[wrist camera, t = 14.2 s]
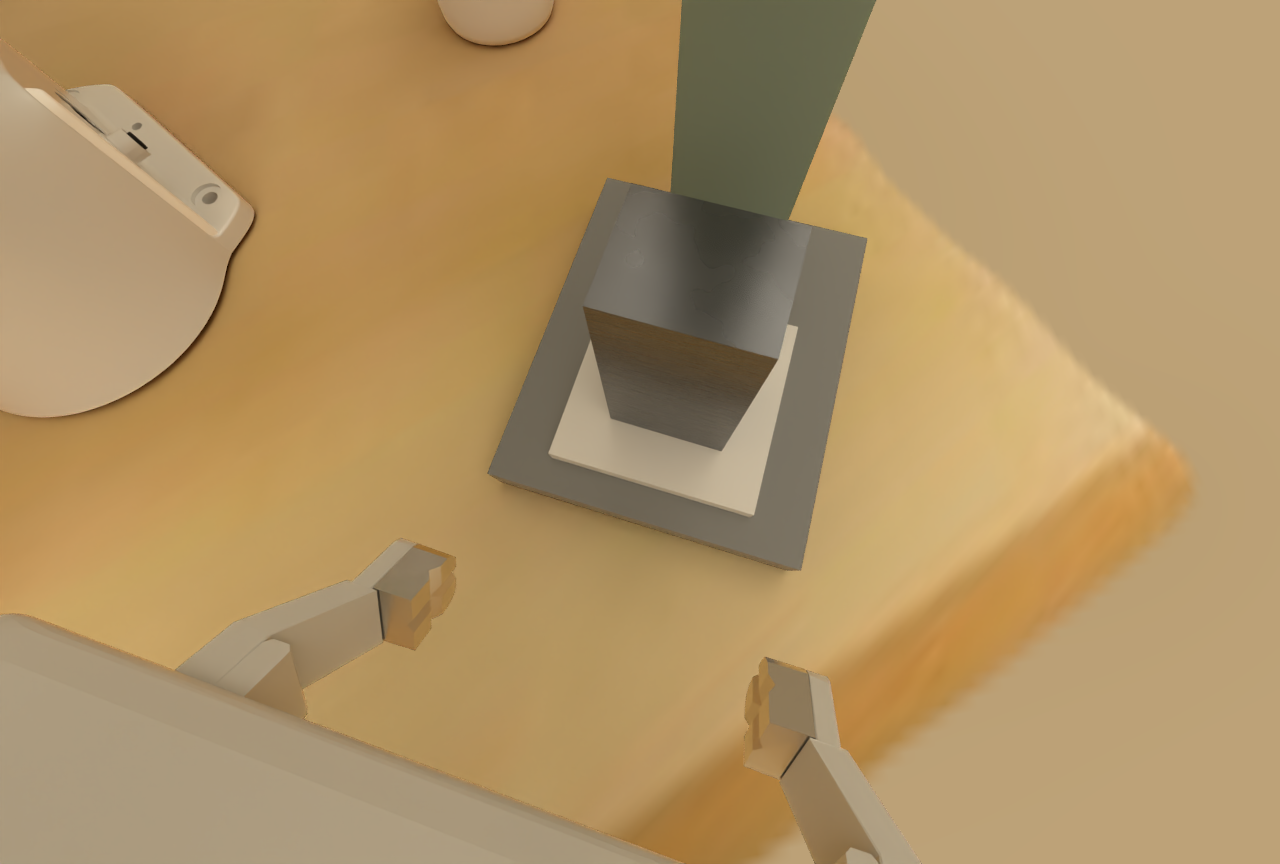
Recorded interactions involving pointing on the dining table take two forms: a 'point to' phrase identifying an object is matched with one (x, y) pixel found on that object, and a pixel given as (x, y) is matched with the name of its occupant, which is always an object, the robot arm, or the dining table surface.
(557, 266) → the dining table surface
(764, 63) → the press
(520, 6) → the milk bottle
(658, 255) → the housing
